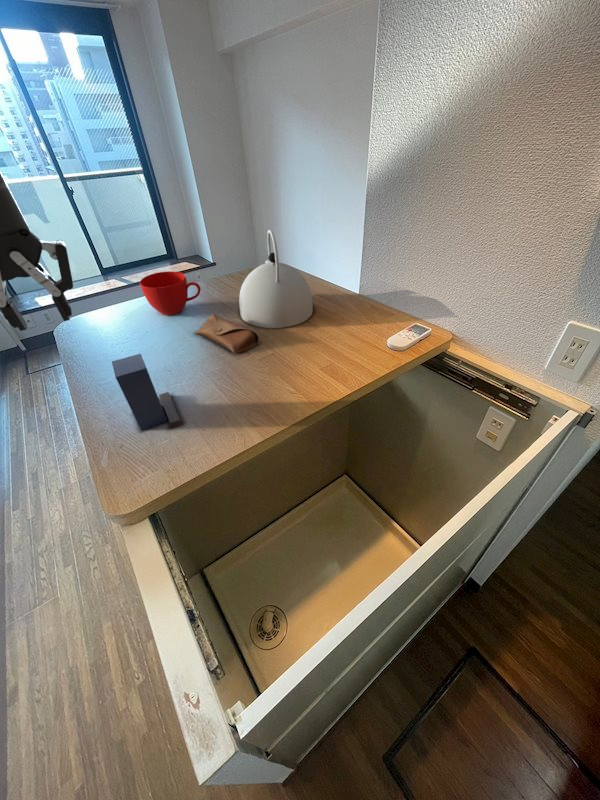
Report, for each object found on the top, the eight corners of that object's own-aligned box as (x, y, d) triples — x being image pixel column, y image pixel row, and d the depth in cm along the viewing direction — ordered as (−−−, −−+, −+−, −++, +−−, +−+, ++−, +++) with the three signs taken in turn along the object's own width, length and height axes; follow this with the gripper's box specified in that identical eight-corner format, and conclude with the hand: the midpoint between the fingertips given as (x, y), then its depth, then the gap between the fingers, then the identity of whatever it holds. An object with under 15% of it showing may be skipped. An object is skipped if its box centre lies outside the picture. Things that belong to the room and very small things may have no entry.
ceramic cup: (200, 320, 98) (192, 287, 91) (144, 320, 98) (132, 288, 91) (209, 301, 107) (202, 270, 101) (158, 302, 108) (148, 271, 101)
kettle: (237, 296, 110) (227, 222, 96) (303, 290, 114) (302, 217, 99) (242, 331, 92) (230, 247, 77) (320, 323, 95) (323, 240, 80)
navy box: (141, 430, 63) (115, 377, 55) (136, 413, 67) (111, 361, 58) (167, 421, 65) (146, 368, 57) (161, 405, 69) (140, 353, 60)
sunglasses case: (192, 332, 91) (197, 309, 89) (211, 335, 97) (216, 313, 95) (236, 354, 82) (243, 329, 80) (254, 356, 88) (261, 332, 86)
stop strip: (171, 427, 64) (169, 423, 63) (160, 398, 70) (158, 394, 70) (181, 423, 65) (180, 419, 64) (169, 395, 71) (168, 391, 70)
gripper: (40, 177, 42) (97, 303, 53) (-108, 188, 36) (-10, 325, 48) (39, 184, 37) (101, 321, 48) (-133, 198, 32) (-18, 348, 43)
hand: (45, 322), depth 48 cm, fingers open, 5 cm apart
